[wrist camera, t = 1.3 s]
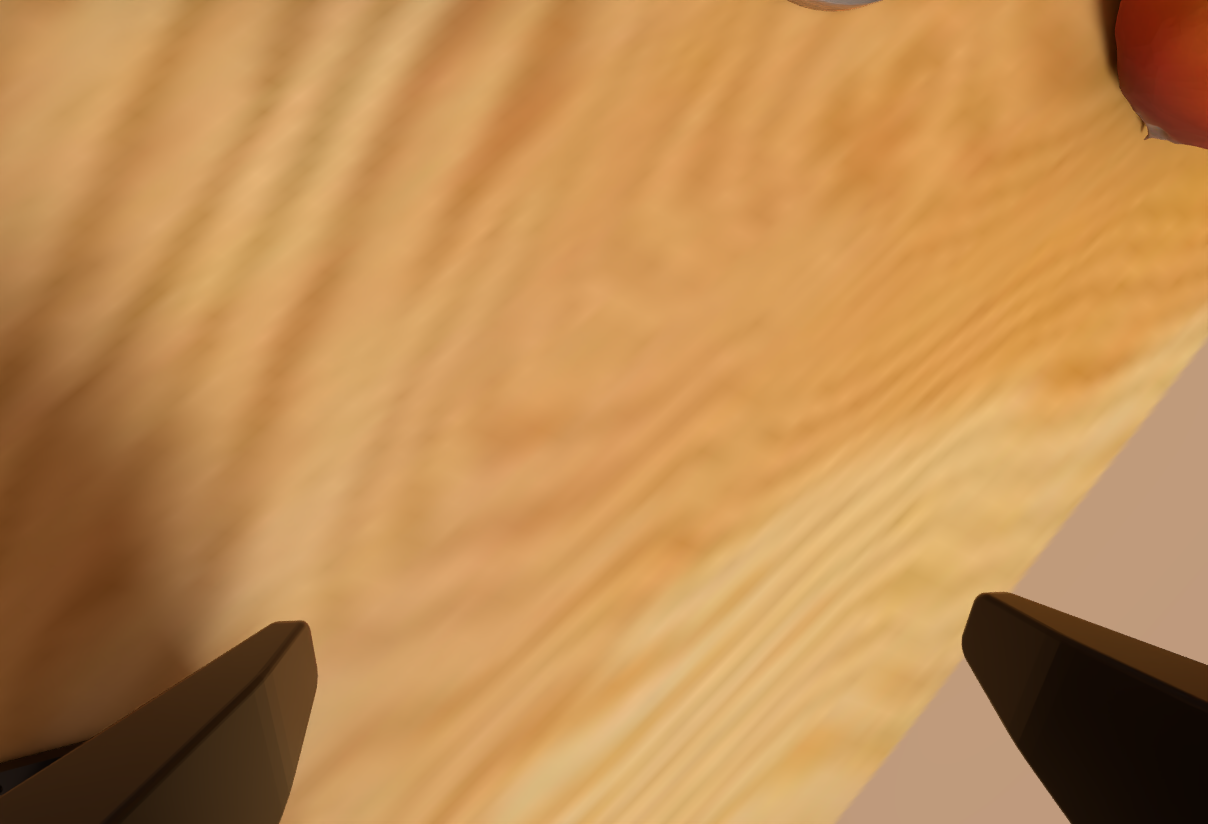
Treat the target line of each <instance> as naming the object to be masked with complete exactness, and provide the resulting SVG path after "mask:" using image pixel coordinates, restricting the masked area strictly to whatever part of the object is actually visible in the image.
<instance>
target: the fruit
mask: <svg viewBox="0 0 1208 824" xmlns="http://www.w3.org/2000/svg"><path fill="white" fill-rule="evenodd" d="M1115 38H1116V45H1117V71H1118V77H1119V82H1120V89H1121V91H1122V93H1123V95H1124V96H1125V97H1126V99H1127V100H1128V101H1129V103H1130V104H1131V106H1132V108H1133V110H1134V111H1135V112H1136V113H1137V114H1138V115H1139V116H1140V118H1141V119H1142V121H1143V122H1144V123H1145V124H1146V125H1147V128H1148V135H1147V136H1146V138H1145V139H1144V140H1146V139H1148V138H1157V139H1162V140H1168V141H1170V142H1173V143H1175V144H1185V145H1191V146H1197V147H1200V148H1204V149H1208V0H1121V2H1120V6H1119V11H1118V15H1117V19H1116V26H1115Z"/></svg>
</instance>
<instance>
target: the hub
mask: <svg viewBox="0 0 1208 824" xmlns="http://www.w3.org/2000/svg"><path fill="white" fill-rule="evenodd" d="M788 1H790V2H792V3H794V4H797V5H799V6H802V7H806V8H810V9H814V10H822V11H845V10H851V9H855V8H860V7H864V6H867V5H870V4H873V3H875V2H878V1H881V0H788Z"/></svg>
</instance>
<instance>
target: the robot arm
mask: <svg viewBox="0 0 1208 824" xmlns="http://www.w3.org/2000/svg"><path fill="white" fill-rule="evenodd" d="M962 650H963V653H964V656H965V658H966V660H967V662H968V664H969V666H970V667H971V669H972V671H973V673H974V674H975V676H976V678H977V680H978V681H979V683H980V685H981V686H982V688H983V690H984V692H985V693H986V695H987V697H988V699H989V700H990V702H991V704H992V706H993V707H994V709H995V711H996V712H997V714H998V716H999V718H1000V719H1001V721H1002V723H1003V725H1004V726H1005V728H1006V730H1007V732H1008V733H1009V735H1010V736H1011V738H1012V740H1013V741H1014V743H1015V745H1016V746H1017V748H1018V749H1019V751H1020V752H1021V754H1022V755H1023V757H1024V758H1025V760H1026V761H1027V763H1028V764H1029V765H1030V767H1031V768H1032V769H1033V771H1034V772H1035V774H1036V775H1037V777H1038V778H1039V779H1040V781H1041V782H1042V783H1043V785H1044V787H1045V788H1046V789H1047V791H1048V792H1049V793H1050V795H1051V796H1052V798H1053V799H1054V801H1055V802H1056V803H1057V805H1058V806H1059V808H1060V809H1061V810H1062V812H1063V813H1064V814H1065V816H1066V817H1067V819H1068V820H1069V821H1070V823H1071V824H1208V665H1206V664H1203V663H1200V662H1197V661H1195V660H1192V659H1189V658H1187V657H1184V656H1181V655H1178V654H1176V653H1173V652H1170V651H1167V650H1165V649H1162V648H1159V647H1156V646H1154V645H1151V644H1148V643H1146V642H1143V641H1140V640H1137V639H1135V638H1132V637H1129V636H1127V635H1124V634H1121V633H1118V632H1115V631H1113V630H1110V629H1108V628H1105V627H1102V626H1099V625H1097V624H1094V623H1091V622H1088V621H1086V620H1083V619H1080V618H1078V617H1075V616H1072V615H1069V614H1067V613H1064V612H1061V611H1058V610H1056V609H1053V608H1050V607H1047V606H1045V605H1042V604H1039V603H1037V602H1034V601H1031V600H1028V599H1026V598H1023V597H1020V596H1018V595H1015V594H1012V593H1008V592H989V593H982V594H979V595H978V596H977V597H976V598H975V600H974V603H973V606H972V608H971V611H970V614H969V617H968V620H967V623H966V626H965V629H964V632H963V635H962ZM317 678H318V673H317V664H316V659H315V653H314V648H313V642H312V636H311V631H310V628H309V625H308V624H307V623H306V622H305V621H278V622H274V623H272V624H270V625H268V626H267V627H265V628H264V629H262V630H260V631H259V632H257V633H256V634H254V635H253V636H251V637H249V638H248V639H246V640H245V641H243V642H242V643H240V644H238V645H237V646H235V647H234V648H232V649H231V650H229V651H227V652H226V653H224V654H223V655H221V656H220V657H218V658H217V659H215V660H213V661H212V662H210V663H209V664H207V665H206V666H204V667H202V668H201V669H199V670H198V671H196V672H195V673H193V674H191V675H190V676H188V677H187V678H185V679H184V680H182V681H180V682H179V683H177V684H176V685H174V686H173V687H171V688H170V689H168V690H166V691H165V692H163V693H162V694H160V695H159V696H157V697H155V698H154V699H152V700H151V701H149V702H148V703H146V704H144V705H143V706H141V707H140V708H138V709H137V710H135V711H133V712H132V713H130V714H129V715H127V716H126V717H124V718H122V719H121V720H119V721H118V722H116V723H115V724H113V725H112V726H110V727H108V728H107V729H105V730H104V731H102V732H101V733H99V734H97V735H96V736H94V737H93V738H91V739H90V740H88V741H84V742H81V743H77V744H73V745H69V746H65V747H61V748H58V749H54V750H50V751H46V752H42V753H38V754H35V755H31V756H27V757H23V758H19V759H15V760H12V761H8V762H4V763H0V824H279V823H280V820H281V817H282V815H283V812H284V809H285V806H286V803H287V801H288V798H289V795H290V791H291V788H292V784H293V780H294V777H295V773H296V769H297V765H298V761H299V757H300V753H301V749H302V745H303V741H304V737H305V733H306V729H307V725H308V721H309V717H310V713H311V709H312V705H313V701H314V697H315V693H316V688H317Z"/></svg>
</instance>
